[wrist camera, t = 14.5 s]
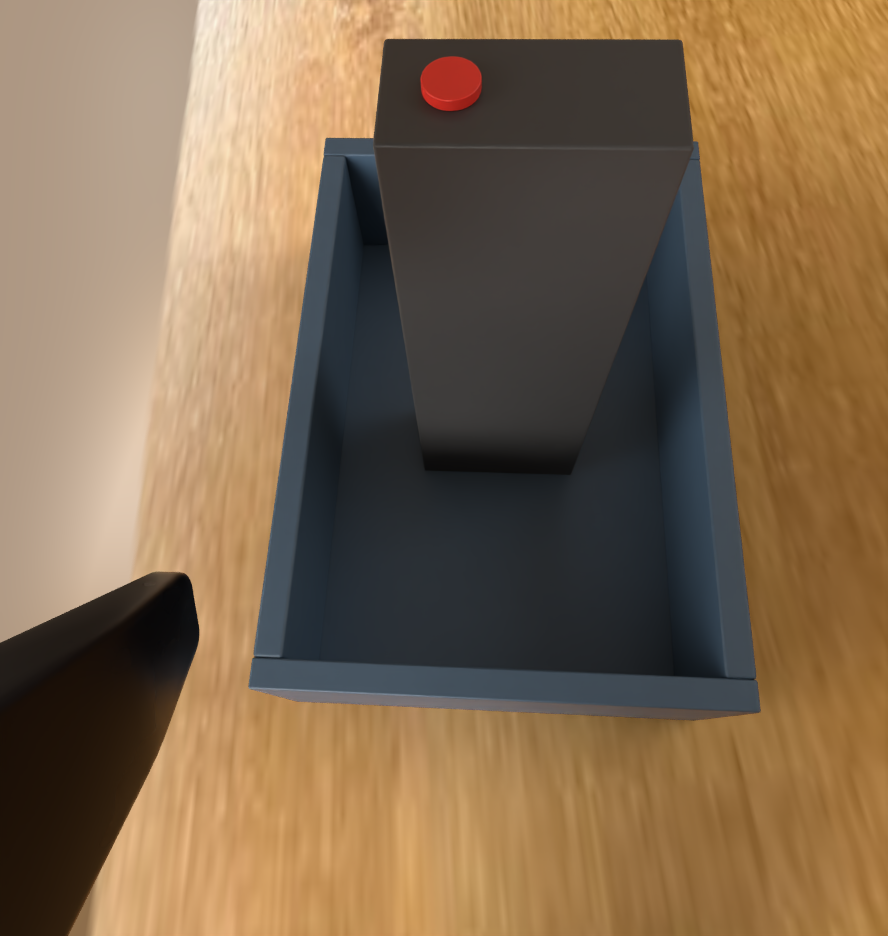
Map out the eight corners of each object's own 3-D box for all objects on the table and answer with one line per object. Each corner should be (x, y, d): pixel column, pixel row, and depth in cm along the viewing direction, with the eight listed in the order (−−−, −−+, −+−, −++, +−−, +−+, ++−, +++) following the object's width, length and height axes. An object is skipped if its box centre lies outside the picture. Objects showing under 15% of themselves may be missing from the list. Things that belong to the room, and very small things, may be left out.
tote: (696, 720, 20) (761, 712, 15) (295, 701, 20) (247, 688, 16) (658, 245, 26) (698, 140, 21) (349, 240, 26) (325, 137, 22)
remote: (571, 475, 22) (700, 136, 10) (424, 471, 22) (370, 133, 10) (569, 406, 23) (686, 16, 11) (428, 402, 23) (383, 15, 11)
